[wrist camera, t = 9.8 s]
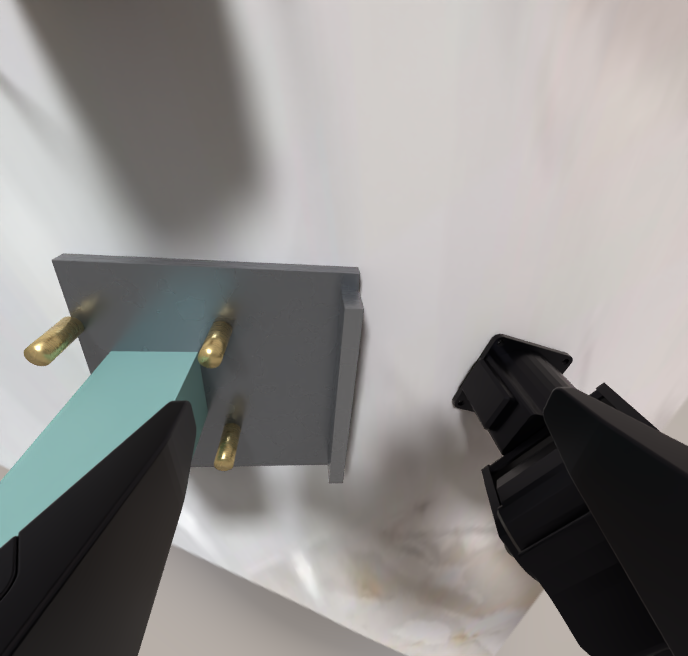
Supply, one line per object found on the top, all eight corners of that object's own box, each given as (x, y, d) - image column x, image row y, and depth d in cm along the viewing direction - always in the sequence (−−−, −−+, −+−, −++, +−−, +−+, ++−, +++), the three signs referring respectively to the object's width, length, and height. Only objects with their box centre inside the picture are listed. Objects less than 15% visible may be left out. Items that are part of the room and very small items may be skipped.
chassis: (357, 267, 21) (367, 296, 18) (338, 454, 29) (342, 499, 26) (49, 253, 19) (-9, 282, 16) (119, 457, 27) (91, 506, 24)
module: (197, 351, 22) (73, 614, 10) (208, 412, 24) (117, 678, 13) (110, 351, 21) (-124, 627, 10) (130, 413, 24) (-38, 691, 12)
